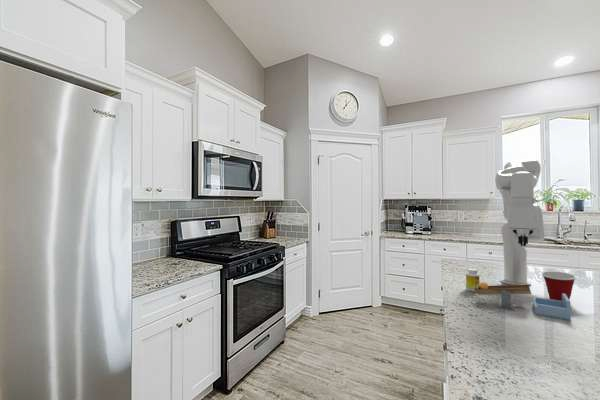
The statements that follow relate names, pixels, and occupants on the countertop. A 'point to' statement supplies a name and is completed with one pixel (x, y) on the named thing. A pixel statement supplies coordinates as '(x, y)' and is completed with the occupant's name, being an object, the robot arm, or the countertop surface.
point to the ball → (483, 285)
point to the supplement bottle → (472, 280)
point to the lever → (497, 289)
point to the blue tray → (553, 307)
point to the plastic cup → (558, 284)
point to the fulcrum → (506, 301)
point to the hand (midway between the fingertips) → (523, 245)
